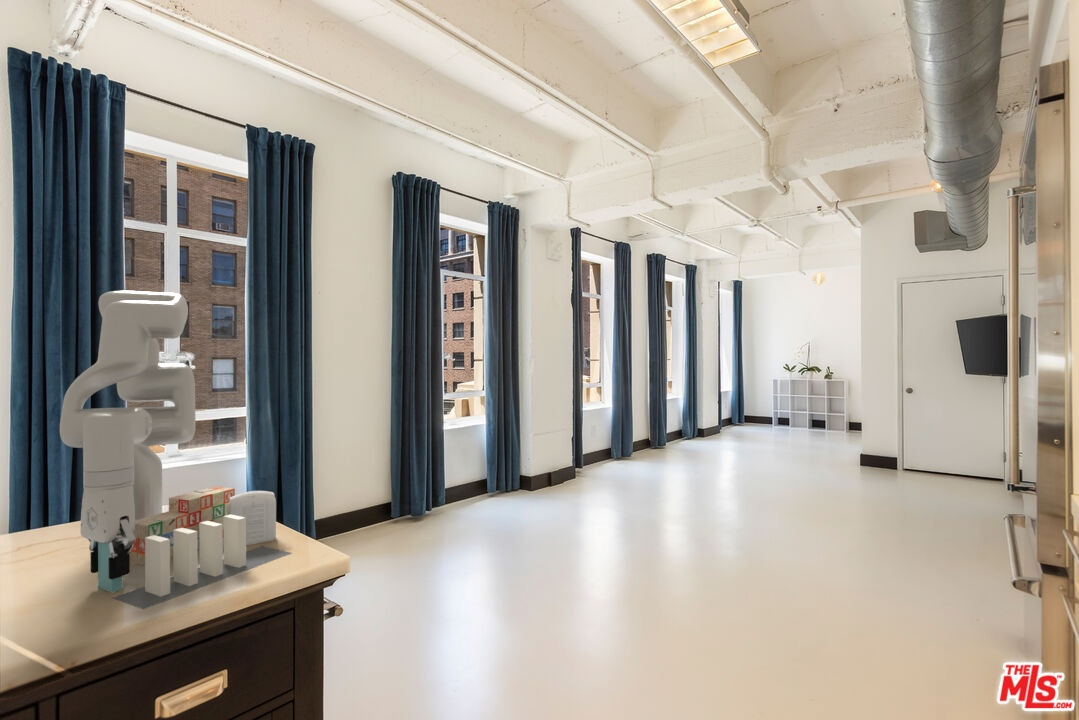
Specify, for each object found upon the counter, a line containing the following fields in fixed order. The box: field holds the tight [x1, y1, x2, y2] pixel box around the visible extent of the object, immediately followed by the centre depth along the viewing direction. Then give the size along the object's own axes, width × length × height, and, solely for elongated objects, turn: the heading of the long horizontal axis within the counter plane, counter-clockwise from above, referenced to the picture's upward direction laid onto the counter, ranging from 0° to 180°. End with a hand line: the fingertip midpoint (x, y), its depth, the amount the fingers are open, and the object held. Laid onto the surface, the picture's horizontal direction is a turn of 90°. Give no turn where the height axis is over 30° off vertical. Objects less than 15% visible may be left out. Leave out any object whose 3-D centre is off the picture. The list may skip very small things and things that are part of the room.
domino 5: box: [223, 514, 247, 568], centre depth 114 cm, size 5×2×10 cm, turn 63°
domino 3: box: [173, 528, 199, 586], centre depth 105 cm, size 5×2×10 cm, turn 63°
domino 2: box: [144, 535, 171, 596], centre depth 101 cm, size 5×2×10 cm, turn 63°
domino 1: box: [97, 538, 123, 593], centre depth 103 cm, size 5×2×10 cm, turn 63°
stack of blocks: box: [130, 486, 236, 567], centre depth 125 cm, size 21×6×12 cm, turn 160°
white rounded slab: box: [227, 490, 277, 546], centre depth 129 cm, size 10×4×12 cm, turn 123°
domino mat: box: [112, 545, 292, 610], centre depth 110 cm, size 10×30×1 cm, turn 153°
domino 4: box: [199, 521, 224, 577], centre depth 110 cm, size 5×2×10 cm, turn 63°
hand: (110, 572), depth 103 cm, fingers open, 5 cm apart
